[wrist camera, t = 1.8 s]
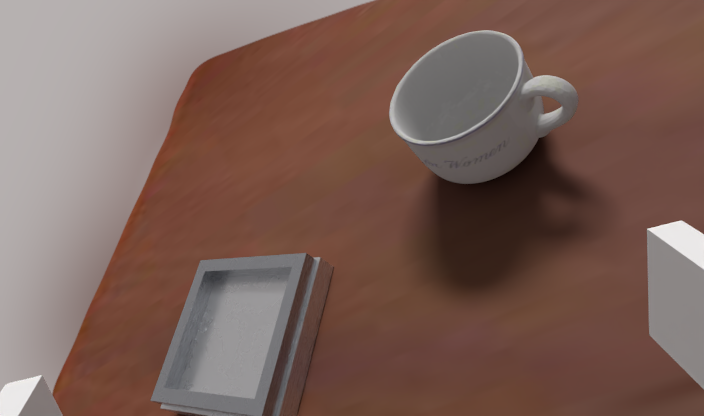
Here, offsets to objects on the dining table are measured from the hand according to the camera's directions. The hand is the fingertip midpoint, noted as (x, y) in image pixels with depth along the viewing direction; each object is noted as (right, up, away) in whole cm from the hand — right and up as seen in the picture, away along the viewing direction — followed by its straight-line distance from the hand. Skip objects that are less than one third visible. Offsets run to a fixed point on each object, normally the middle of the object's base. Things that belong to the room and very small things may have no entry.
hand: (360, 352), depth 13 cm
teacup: (+13, +8, +36) cm, 39 cm away
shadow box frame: (-9, -9, +41) cm, 43 cm away
